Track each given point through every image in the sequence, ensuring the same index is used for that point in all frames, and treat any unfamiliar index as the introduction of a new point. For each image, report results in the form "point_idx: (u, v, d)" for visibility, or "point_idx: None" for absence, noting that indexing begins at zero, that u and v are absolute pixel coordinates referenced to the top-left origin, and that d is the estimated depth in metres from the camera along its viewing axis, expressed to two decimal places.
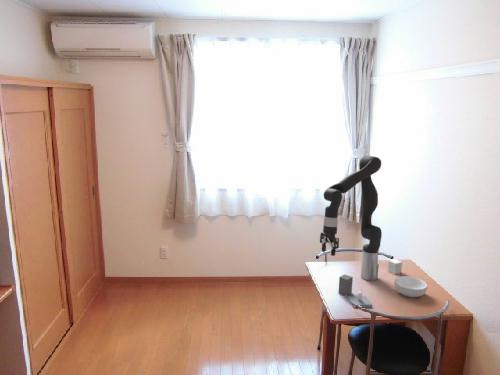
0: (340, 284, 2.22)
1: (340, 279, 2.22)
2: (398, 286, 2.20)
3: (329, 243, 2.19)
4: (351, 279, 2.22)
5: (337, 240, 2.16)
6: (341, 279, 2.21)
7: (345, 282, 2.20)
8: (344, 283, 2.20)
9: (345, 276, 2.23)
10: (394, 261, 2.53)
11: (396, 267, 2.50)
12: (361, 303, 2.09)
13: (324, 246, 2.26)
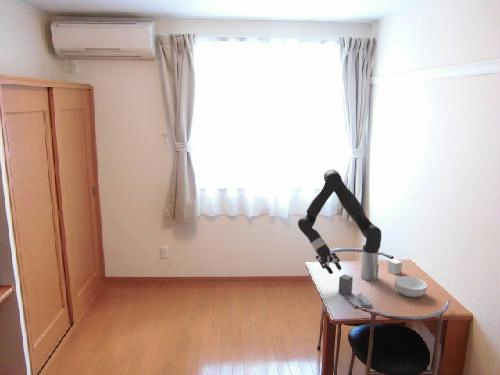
0: (340, 284, 2.22)
1: (340, 279, 2.22)
2: (398, 286, 2.20)
3: (325, 264, 2.28)
4: (351, 279, 2.22)
5: (320, 260, 2.25)
6: (341, 279, 2.21)
7: (345, 282, 2.20)
8: (344, 283, 2.20)
9: (345, 276, 2.23)
10: (394, 261, 2.53)
11: (396, 267, 2.50)
12: (361, 303, 2.09)
13: (337, 265, 2.30)
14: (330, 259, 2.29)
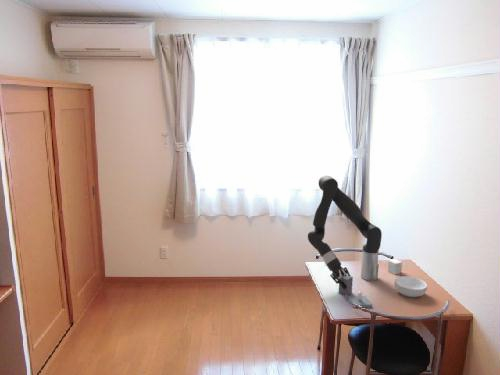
0: None
1: None
2: (398, 286, 2.20)
3: None
4: (351, 279, 2.22)
5: (333, 276, 2.20)
6: None
7: (345, 282, 2.20)
8: None
9: (345, 276, 2.23)
10: (394, 261, 2.53)
11: (396, 267, 2.50)
12: (361, 303, 2.09)
13: None
14: (341, 273, 2.24)
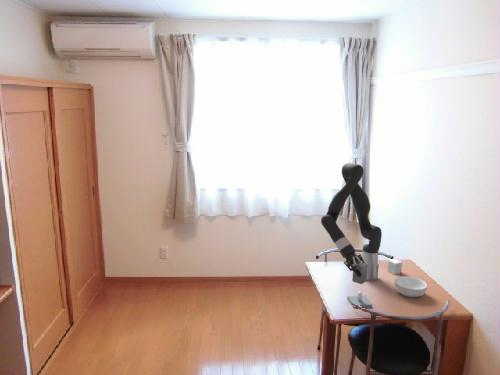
0: (354, 272, 2.09)
1: None
2: (398, 286, 2.20)
3: (351, 265, 2.11)
4: (366, 267, 2.09)
5: (346, 263, 2.07)
6: None
7: (360, 269, 2.06)
8: (359, 271, 2.07)
9: (359, 263, 2.10)
10: (394, 261, 2.53)
11: (396, 267, 2.50)
12: (361, 303, 2.09)
13: None
14: (355, 260, 2.11)
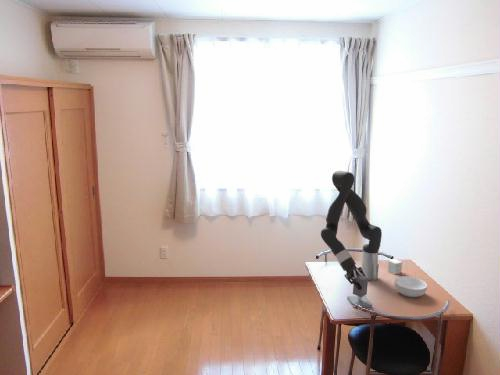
0: None
1: None
2: (398, 286, 2.20)
3: None
4: (367, 280, 2.10)
5: (347, 276, 2.08)
6: None
7: (361, 282, 2.07)
8: None
9: (360, 276, 2.10)
10: (394, 261, 2.53)
11: (396, 267, 2.50)
12: (361, 303, 2.09)
13: None
14: (356, 273, 2.12)
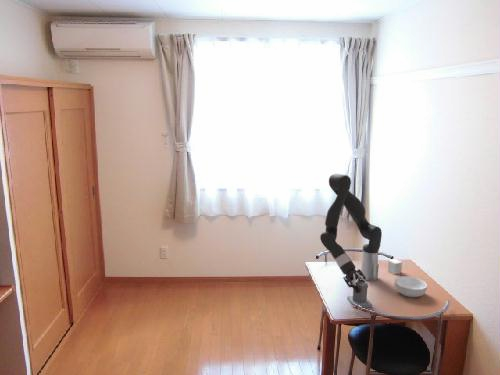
0: (354, 291, 2.11)
1: None
2: (398, 286, 2.20)
3: (350, 282, 2.12)
4: (366, 286, 2.10)
5: (346, 278, 2.09)
6: None
7: (360, 289, 2.08)
8: None
9: (360, 282, 2.11)
10: (394, 261, 2.53)
11: (396, 267, 2.50)
12: (361, 303, 2.09)
13: None
14: (356, 277, 2.12)
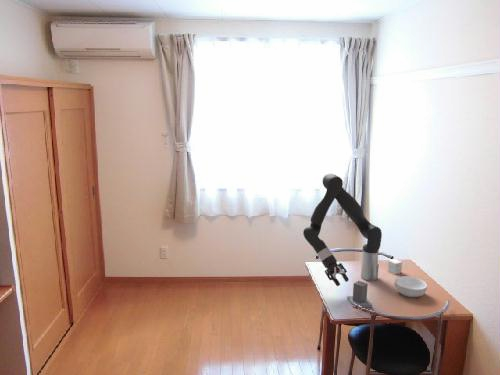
0: (354, 291, 2.11)
1: (354, 286, 2.10)
2: (398, 286, 2.20)
3: (332, 275, 2.20)
4: (366, 286, 2.10)
5: (327, 271, 2.17)
6: (355, 286, 2.10)
7: (360, 289, 2.08)
8: (359, 290, 2.08)
9: (360, 282, 2.11)
10: (394, 261, 2.53)
11: (396, 267, 2.50)
12: (361, 303, 2.09)
13: (344, 276, 2.22)
14: (337, 270, 2.20)
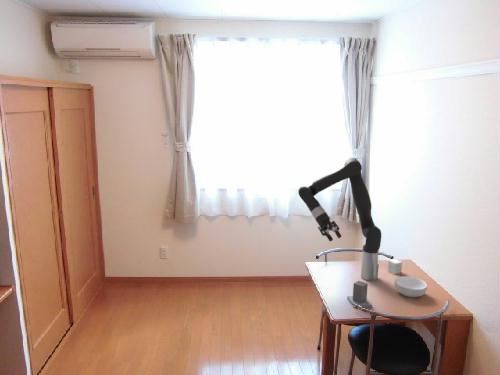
0: (354, 291, 2.11)
1: (354, 286, 2.10)
2: (398, 286, 2.20)
3: None
4: (366, 286, 2.10)
5: (320, 227, 2.25)
6: (355, 286, 2.10)
7: (360, 289, 2.08)
8: (359, 290, 2.08)
9: (360, 282, 2.11)
10: (394, 261, 2.53)
11: (396, 267, 2.50)
12: (361, 303, 2.09)
13: (337, 233, 2.31)
14: (330, 227, 2.29)
